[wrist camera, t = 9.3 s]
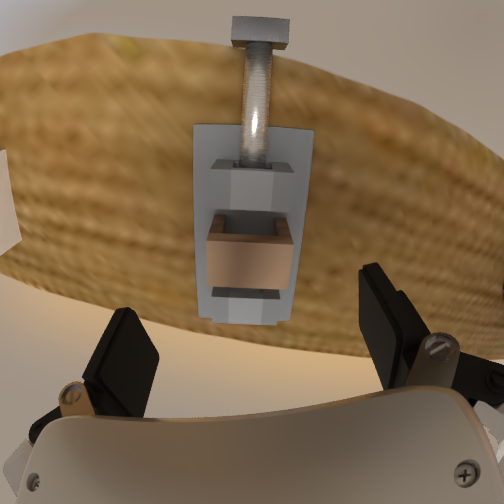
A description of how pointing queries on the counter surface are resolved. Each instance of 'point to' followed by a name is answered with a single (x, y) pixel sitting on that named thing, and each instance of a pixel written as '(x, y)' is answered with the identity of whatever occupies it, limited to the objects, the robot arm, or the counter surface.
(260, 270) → the block
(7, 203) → the milk
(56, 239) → the counter surface
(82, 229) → the counter surface
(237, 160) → the bearing block
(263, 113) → the shaft
